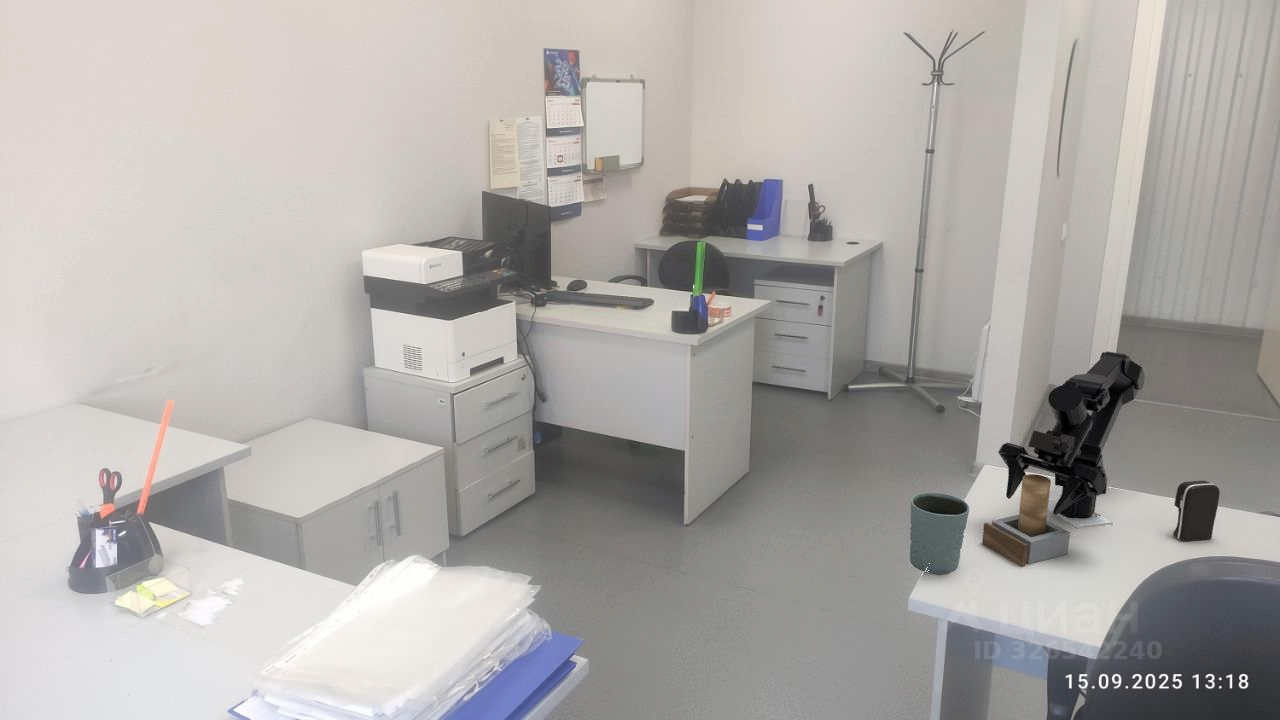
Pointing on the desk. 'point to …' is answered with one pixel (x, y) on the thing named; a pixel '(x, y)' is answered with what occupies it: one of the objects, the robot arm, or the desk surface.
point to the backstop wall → (1005, 544)
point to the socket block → (1037, 539)
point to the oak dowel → (1034, 505)
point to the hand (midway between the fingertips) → (1030, 505)
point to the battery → (1196, 510)
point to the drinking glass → (937, 531)
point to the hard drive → (1078, 521)
